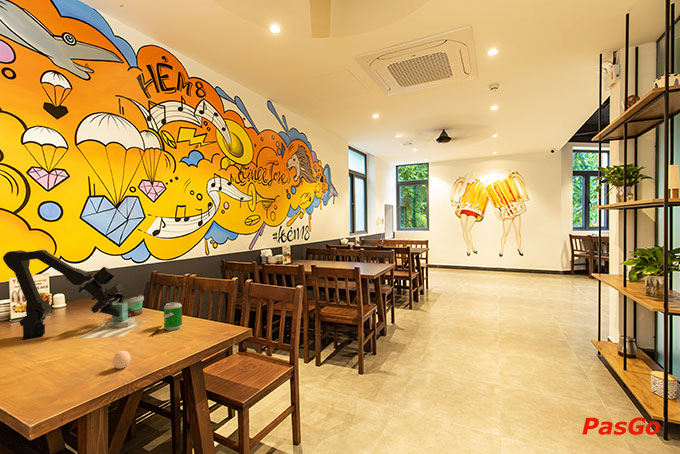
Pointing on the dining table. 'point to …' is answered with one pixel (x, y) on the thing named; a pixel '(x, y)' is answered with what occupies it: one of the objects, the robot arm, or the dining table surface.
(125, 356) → the egg
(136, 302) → the food container
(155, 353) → the dining table surface
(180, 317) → the soda can
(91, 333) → the birch board
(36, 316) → the robot arm
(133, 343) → the dining table surface
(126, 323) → the block
